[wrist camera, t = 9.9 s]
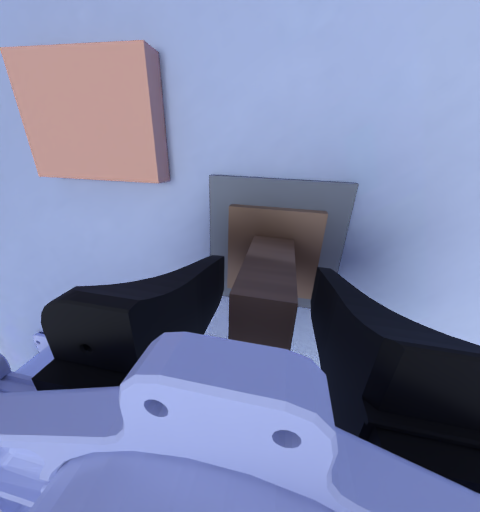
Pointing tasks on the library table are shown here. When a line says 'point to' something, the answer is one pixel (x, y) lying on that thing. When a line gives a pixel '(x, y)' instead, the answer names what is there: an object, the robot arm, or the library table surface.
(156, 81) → the tile
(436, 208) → the library table surface
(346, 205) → the mat
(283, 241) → the stamp
